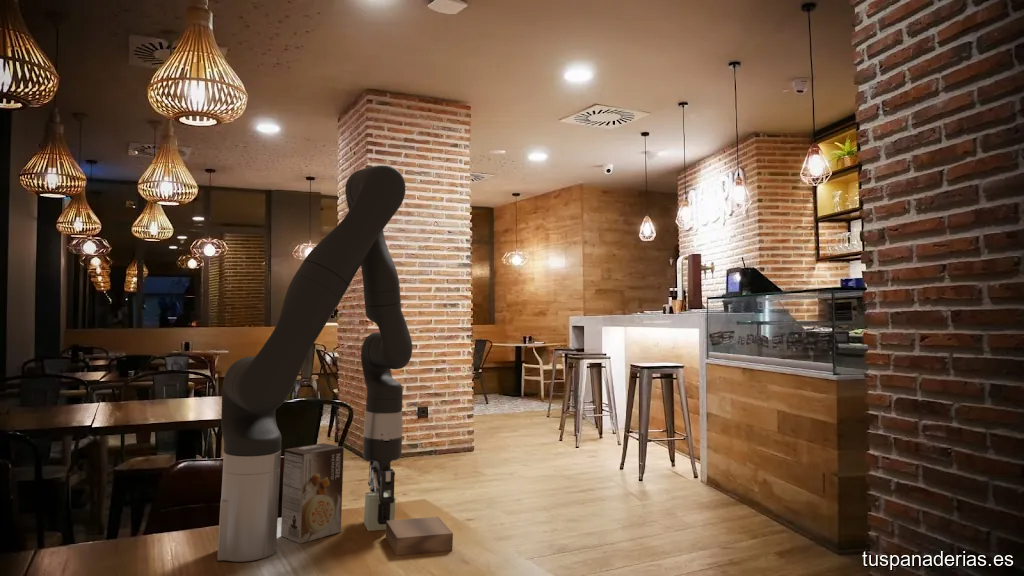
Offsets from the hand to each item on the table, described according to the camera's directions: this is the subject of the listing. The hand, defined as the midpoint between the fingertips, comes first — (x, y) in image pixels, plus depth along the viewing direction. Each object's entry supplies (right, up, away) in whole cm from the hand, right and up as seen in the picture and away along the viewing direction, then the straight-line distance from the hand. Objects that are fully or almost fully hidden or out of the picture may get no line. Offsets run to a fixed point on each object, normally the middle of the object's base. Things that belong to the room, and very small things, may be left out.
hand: (379, 517), depth 131 cm
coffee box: (-11, -1, -7) cm, 13 cm away
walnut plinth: (+9, -2, -9) cm, 13 cm away
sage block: (0, -2, 0) cm, 2 cm away
